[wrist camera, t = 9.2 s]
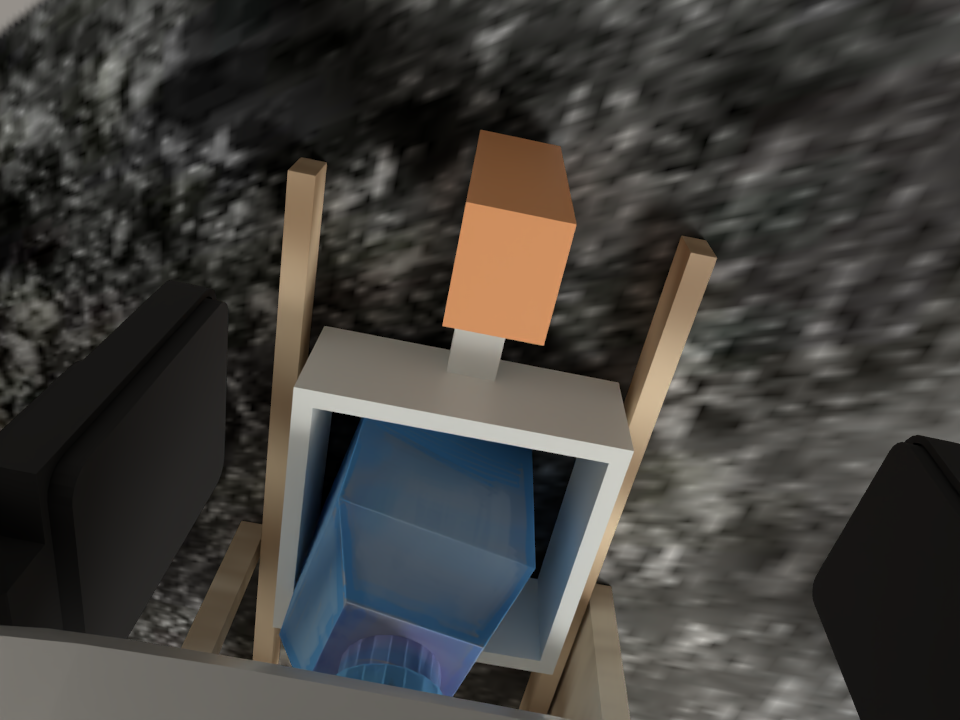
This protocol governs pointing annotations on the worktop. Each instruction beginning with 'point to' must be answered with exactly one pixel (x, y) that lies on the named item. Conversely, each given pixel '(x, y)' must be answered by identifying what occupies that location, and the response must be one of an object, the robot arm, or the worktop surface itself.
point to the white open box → (480, 390)
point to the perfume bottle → (413, 558)
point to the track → (292, 354)
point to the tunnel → (580, 691)
